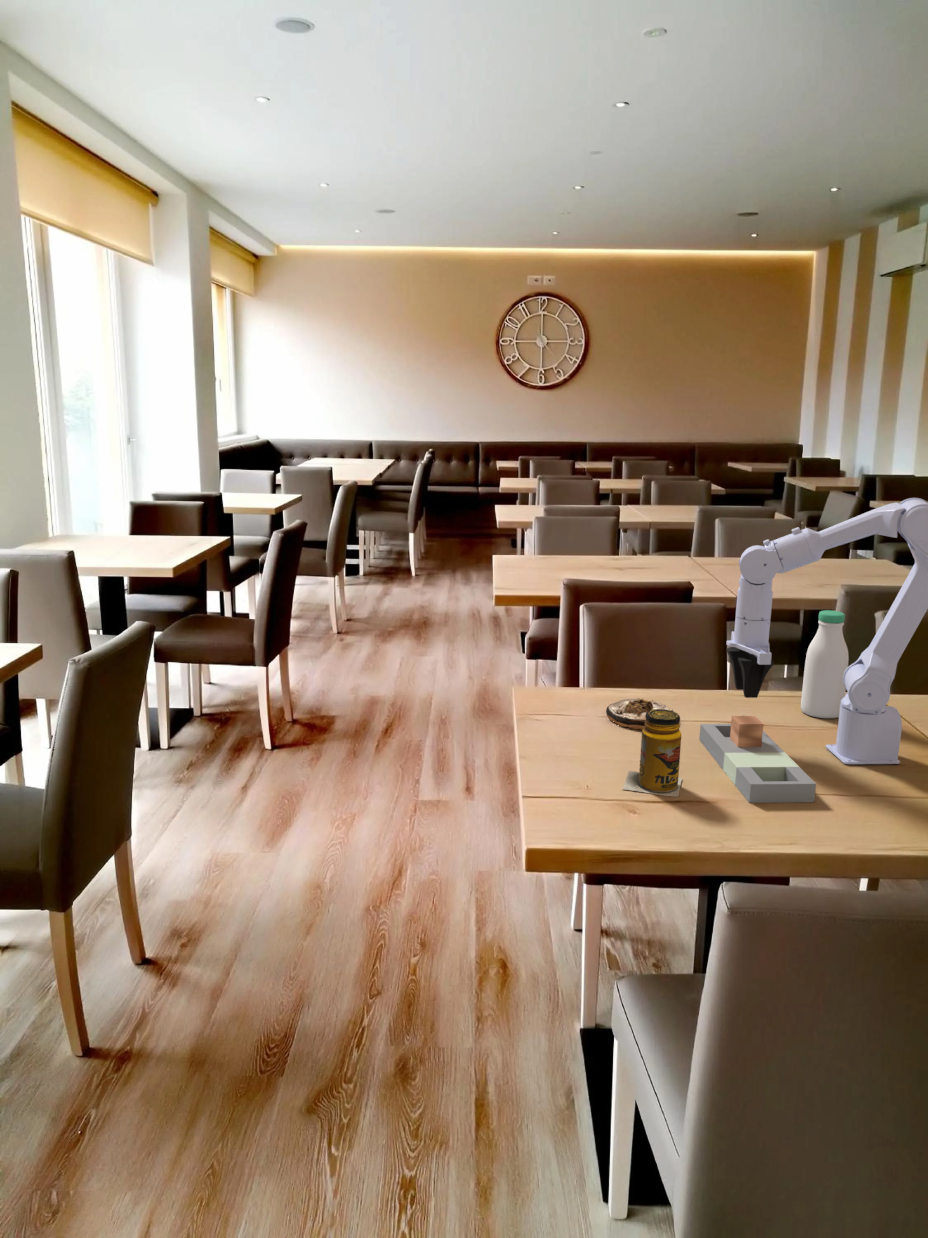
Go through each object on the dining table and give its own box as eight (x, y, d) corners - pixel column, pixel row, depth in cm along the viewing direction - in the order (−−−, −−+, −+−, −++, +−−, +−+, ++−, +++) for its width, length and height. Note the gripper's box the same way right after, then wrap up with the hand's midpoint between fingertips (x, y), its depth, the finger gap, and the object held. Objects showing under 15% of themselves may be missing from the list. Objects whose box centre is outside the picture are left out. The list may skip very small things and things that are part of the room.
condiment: (677, 798, 143) (683, 723, 140) (622, 790, 145) (626, 717, 142) (681, 779, 150) (687, 708, 147) (628, 772, 152) (632, 702, 149)
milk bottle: (848, 720, 177) (860, 617, 173) (808, 719, 178) (818, 616, 173) (833, 706, 185) (844, 608, 180) (794, 706, 185) (804, 607, 180)
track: (754, 739, 167) (756, 723, 166) (814, 802, 142) (816, 783, 141) (699, 740, 166) (700, 724, 166) (749, 802, 141) (750, 784, 140)
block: (753, 738, 159) (755, 715, 158) (761, 746, 155) (763, 724, 154) (729, 738, 159) (731, 716, 158) (737, 747, 155) (739, 724, 154)
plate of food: (628, 740, 167) (629, 718, 166) (585, 713, 181) (586, 693, 180) (696, 729, 173) (698, 707, 172) (650, 704, 186) (651, 684, 185)
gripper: (716, 607, 166) (711, 680, 169) (744, 627, 152) (737, 706, 155) (755, 607, 166) (749, 680, 170) (786, 627, 152) (779, 706, 156)
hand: (746, 693), depth 163 cm, fingers open, 4 cm apart
